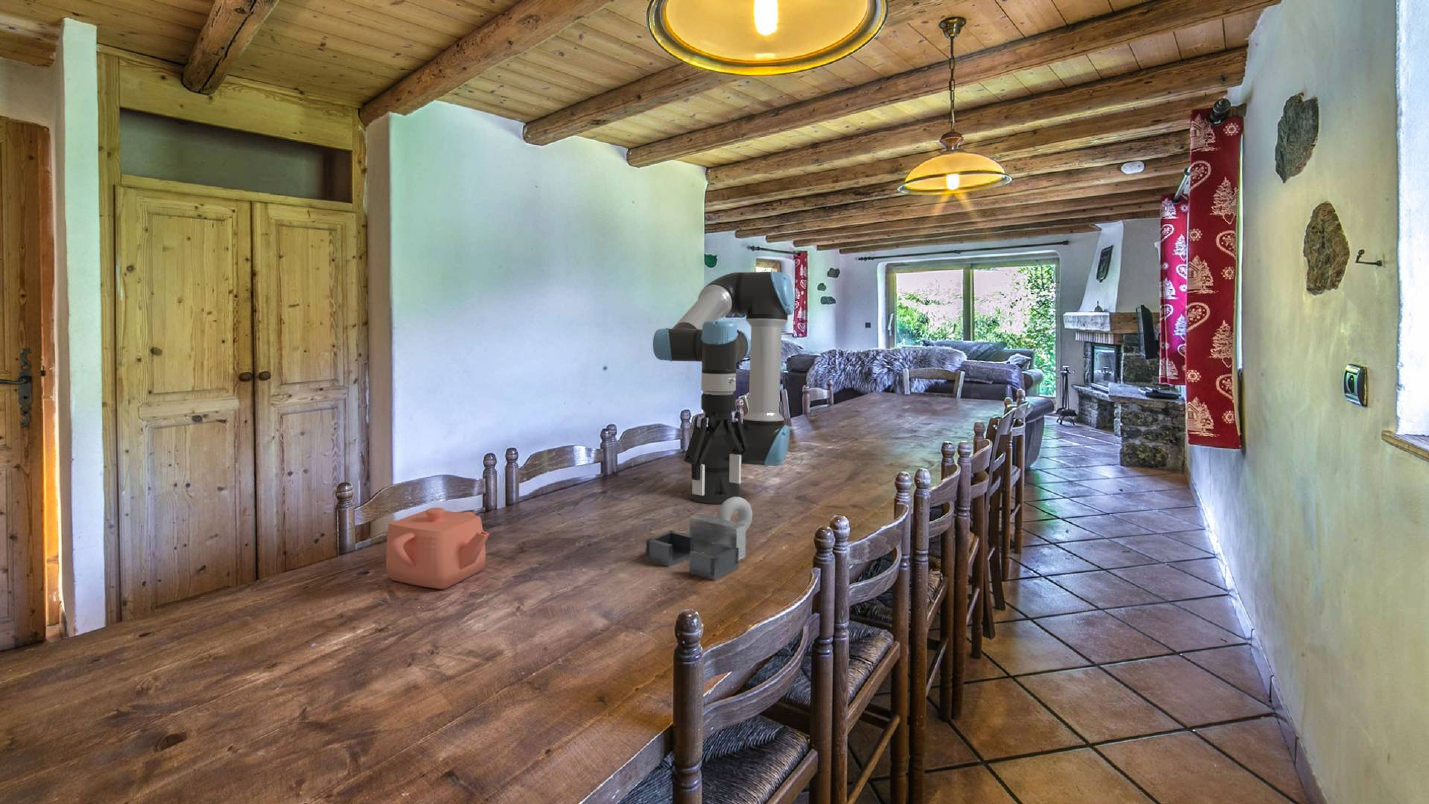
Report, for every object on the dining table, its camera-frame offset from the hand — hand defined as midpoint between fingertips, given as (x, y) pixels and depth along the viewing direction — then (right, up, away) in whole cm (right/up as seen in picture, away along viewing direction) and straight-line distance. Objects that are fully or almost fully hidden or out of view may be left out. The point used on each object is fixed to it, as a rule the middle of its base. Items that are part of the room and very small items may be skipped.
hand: (717, 488), depth 150 cm
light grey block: (0, -15, +2) cm, 15 cm away
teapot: (-54, -16, -13) cm, 58 cm away
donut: (+4, -14, +13) cm, 19 cm away
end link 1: (-10, -15, -1) cm, 18 cm away
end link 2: (-1, -16, -9) cm, 18 cm away
